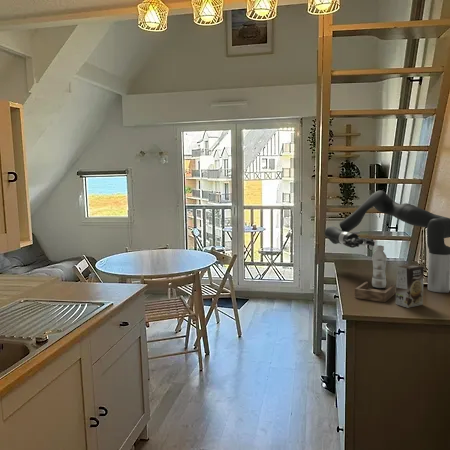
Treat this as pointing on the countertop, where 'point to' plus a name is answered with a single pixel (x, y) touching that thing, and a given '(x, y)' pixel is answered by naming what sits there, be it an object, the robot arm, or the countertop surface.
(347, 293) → the countertop surface
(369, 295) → the walnut bay
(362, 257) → the countertop surface
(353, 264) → the countertop surface
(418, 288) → the coffee box
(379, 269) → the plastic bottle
